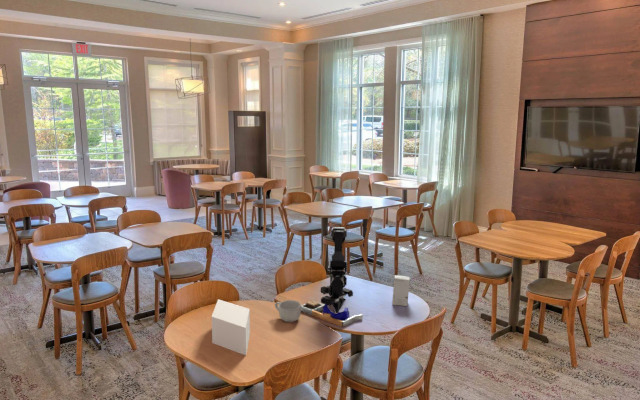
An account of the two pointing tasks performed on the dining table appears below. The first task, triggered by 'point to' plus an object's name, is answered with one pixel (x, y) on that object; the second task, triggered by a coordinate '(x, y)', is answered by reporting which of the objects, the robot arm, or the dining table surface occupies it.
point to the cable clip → (339, 315)
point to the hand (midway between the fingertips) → (336, 312)
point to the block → (231, 326)
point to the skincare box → (400, 290)
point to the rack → (326, 314)
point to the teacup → (289, 310)
